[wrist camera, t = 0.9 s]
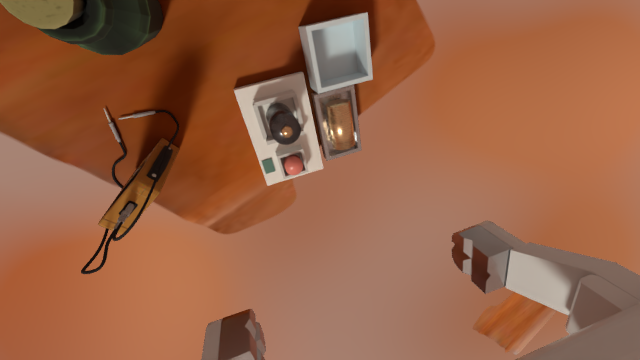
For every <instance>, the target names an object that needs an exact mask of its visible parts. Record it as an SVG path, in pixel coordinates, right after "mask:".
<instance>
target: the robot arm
mask: <svg viewBox="0 0 640 360" xmlns="http://www.w3.org/2000/svg"><path fill="white" fill-rule="evenodd" d="M452 242H453V243H454V244H455V245H454V247H453V248H452V258H453V260H454V263H455V264H456V266H457V267H458V268H459V269H460V270H461V271H462V272H463V273H465V274H468V275H471V280H472V282H473V283H474V284H475V285H476V286H477V287H478V288H479V289H481V290H482V291H483V292H484V293H485V294H486V293H489V292H491V291H494V290H497V289H500V288H502V287H505V286H506V288H508V289H510V290H512V291H514V292H516V293H519V294H521V295H523V296H525V297H528V298H530V299H532V300H534V301H537V302H539V303H541V304H543V305H546V306H548V307H550V308H552V309H555V310H557V311H559V312H562V313H564V314H566V315H568V320H567V323H566V331H567V332H568V333H569V334H570V335H568V336H566V337H564V338H561V339H560V340H557V341H555V342H553V343H550V344H548V345H546V346H544V347H542V348H540V349H538V350H535V351H533V352H531V353H529V354H526V355H524V356H522V357H520V358H518V359H516V360H640V275H638V274H636V273H634V272H632V271H630V270H628V269H626V268H625V267H623V266H621V265H619V264H617V263H615V262H611V261H607V260H602V259H598V258H594V257H590V256H585V255H581V254H576V253H572V252H568V251H564V250H560V249H556V248H551V247H547V246H543V245H538V244H534V243H527V244H526V243H524V242H523V241H521V240H519V239H518V238H516V237H515V236H513V235H512V234H510V233H508V232H507V231H505V230H504V229H502V228H500V227H499V226H497V225H496V224H494V223H493V222H491V221H484V222H482V223H479V224H477V225H474V226H471V227H468V228H466V229H463V230H461V231H458V232H456V233H453V235H452ZM265 351H266V346H265V339H264V334H263V331H262V328H261V325H260V323H258V322H256V318H255V313H254V311H253V310H252V309H248V310H245V311H242V312H239V313H236V314H234V315H231V316H228V317H225V318H223V319H220V320H217V321H214V322H211V323H209V324H208V326H207V328H206V333H205V340H204V346H203V353H202V359H201V360H265V359H264V357H263V355H264V353H265Z"/></svg>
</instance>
